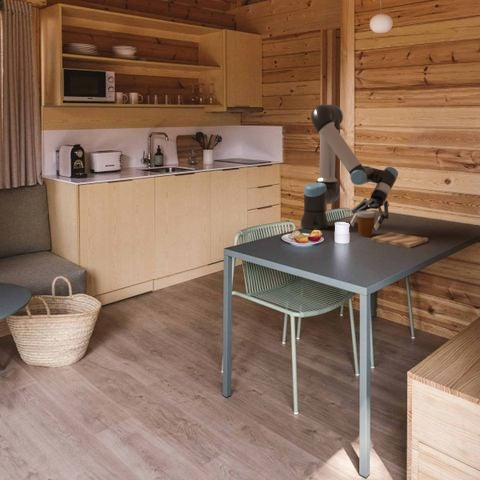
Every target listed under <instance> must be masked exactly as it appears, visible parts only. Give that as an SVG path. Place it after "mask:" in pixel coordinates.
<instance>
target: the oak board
mask: <svg viewBox="0 0 480 480" xmlns="http://www.w3.org/2000/svg"><path fill="white" fill-rule="evenodd" d="M370 241H371V242H375V243H380V244H385V245H392V246H397V247H402V248H403V247H404V248H407V249H408V248H412V247H416V246H417V245H420V244H424V243H427V242H428V241H429V238H428V237H423V236H416V235H411V234H405V233H404V234H403V233H397V232H386V233H384V234H381V235H380V234H379V235H377V236H373V237H371V239H370Z"/></svg>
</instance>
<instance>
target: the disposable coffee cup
mask: <svg viewBox="0 0 480 480" xmlns="http://www.w3.org/2000/svg"><path fill="white" fill-rule="evenodd" d="M356 215H357V218H358V219H357V227H358V229H357V230H358V236H359V237H366V238H367V237H372V234H373V231H374V230H373V229H374V225H375V218H376V217H377V214H376V211H373V210H366V211H358V212H357V214H356Z"/></svg>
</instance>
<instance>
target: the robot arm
mask: <svg viewBox="0 0 480 480" xmlns="http://www.w3.org/2000/svg"><path fill="white" fill-rule="evenodd" d="M343 119H344V114H343V110H342V108H340V107H339V106H337V105H334V104H319V105H317V106H315V107H314V108H313V109H312V110H311V113H310V120H311V124H312V125H313V127H314V129H315V130H316V131H317V133H318V134H319V136H320V137H319V138H320V139H319V170H318V172H319V173H318V177H317V179H315V182H311V183H307V184H306V185H305V186H304V191H303V194H304V195H303V200H304V201H303V214H302V218H301V221H300V227H301V228H303V229H307V230H315V229H314V228H317V229H316V230H325V229H328V228H329V219H328V216H327V213H326V211H327V210H326V209H327V205H330V204H333V203H334V202H336V201H337V200H338V199H339V198H340V194H341V191H340V187H339V185H338V179H337V178H336V177H335V175H336V156H337V158H338V159H339V160H340V162H341V163H342V165H343V167H344V169H346V171H347V173H349V175H350V181H351V183H352V184H354V185H356V186H358V185H359V186H361V185H362V186H363V185H365V184H368V183H373V184H376V186H375V187H374V189H373V191H372V193H371V195H370V198H369V199H367V198H366V197H365V198H363V200H362V201H361V202H360V203H358V205H356V206H355V207H353V209H351V212H352V214H353V215H352V217H351V220H350V225H351V227H354V226H355V224H356V222H357V221H358V218H357V215H356V214H357V212H358V211H368V210H370V209H374V210H378V212H379V215H378V217H377V219H376V221H375V222H374V224H373V229H374V230H376V231H377V230H378V229H379V226H380V225H382V224H383V221H384V220H385V219H386V220H388V219H389V206H390V204H389V202H388V200H387V198H388V196H389V194H390V192H391V190H392V189H393V186H394V184H395V183H396V182H397V179H398V175H399V171H398V170H397V169H396V168H394V167H392V166H386V167H385V168H384V169H379V168H374V167H371V166H369V165H367V166H366V165H362V163H361V161H360V160H359V159H358V158H357V156H356V155H355V153H354V152H353V150H352V149H351V148H350V146H349V145H348V144H347V142H346V141H345V139H344V138H343V136H342V135H341V134H340V132H339V131H340V125H341V124H342V123H343ZM382 207H383V210H382ZM383 212H384V213H383Z"/></svg>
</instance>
